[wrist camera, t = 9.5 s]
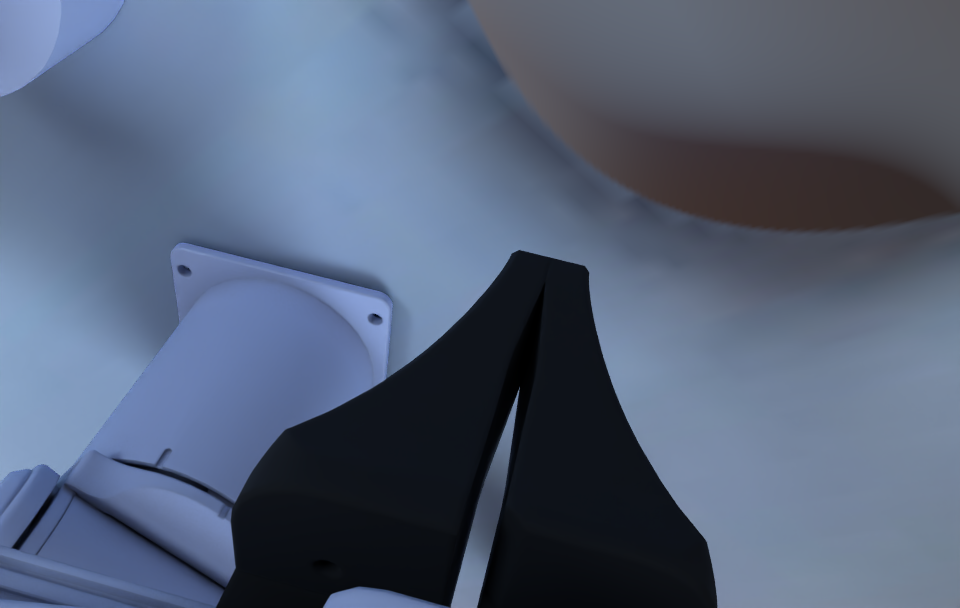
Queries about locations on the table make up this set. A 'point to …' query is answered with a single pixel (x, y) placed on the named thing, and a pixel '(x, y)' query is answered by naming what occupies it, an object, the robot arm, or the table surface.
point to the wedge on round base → (46, 34)
